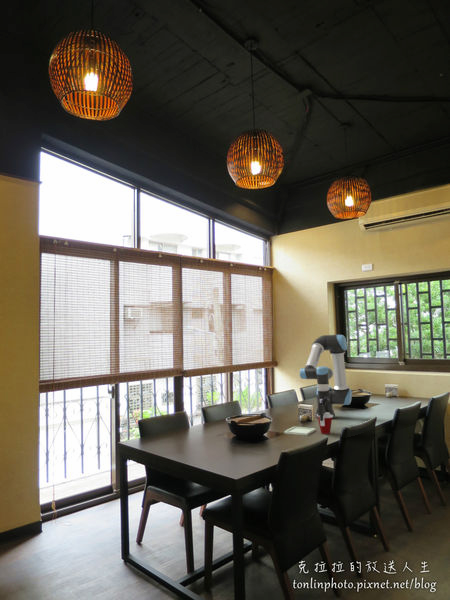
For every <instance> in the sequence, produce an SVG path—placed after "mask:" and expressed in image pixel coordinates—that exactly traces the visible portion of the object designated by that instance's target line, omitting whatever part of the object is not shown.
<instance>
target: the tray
mask: <svg viewBox="0 0 450 600" xmlns="http://www.w3.org/2000/svg"><path fill="white" fill-rule="evenodd" d="M315 431H317V430H316V428H315V427H304V426H292V427H290V428H287V429H286V430H284V431H283V432H284V433H283V434H286V435H296V436H297V435H298V436H306V437H307V436H309V435H310V434H312V433H314V432H315Z"/></svg>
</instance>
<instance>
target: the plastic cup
mask: <svg viewBox="0 0 450 600" xmlns="http://www.w3.org/2000/svg"><path fill="white" fill-rule="evenodd" d="M323 416H324V422H325V426H320V416H318V414H317V417H318V418H317V421H318V425H319V430H320V433H321V434H322V435H329V434H331V428H332V420H333V419H332V418H333V415H331V414H325V413H324V415H323Z"/></svg>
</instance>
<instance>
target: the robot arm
mask: <svg viewBox="0 0 450 600" xmlns="http://www.w3.org/2000/svg"><path fill="white" fill-rule="evenodd" d="M310 349H311V351H310V353H309V356H308V359H307V360H306V363H305V367H303V368H300V369H299V377H300V379H301V380H316V381H317V382H316V383H317V384H316V387H317V389H316V394H315V395H316V412H315V418H316V419H318V417H317V414H318V416H320V426H325V422H324V416H323V415H324V413H325V414H331V415H333V418H332V420H333V419H335V418H336V413H335V410H334V408H333V407H334V406H333V405H341V406H342V405H344V406H346V405H347V406H349V405H351V402H352V397H353V392H352V389H351V388H350V387H349V385H347V383H348V382H347V376H346V375H347V374H346V365H345V364H346V363H345V356H344V355H345V353H346V351H347V350H348V341H347V339H346V337H345V336H344V335H343V334H327V335H325V334H324V335H321V336H318V337H317V338H316V339H315V340H314V341H313V343H311V348H310ZM325 351H329V354H330V355H331V357H332V359H331V360H332V369H333V370H332V369H331V368H330V367H328V366H318V364H319V361H320V358H321V354H323V353H324V352H325ZM333 376H334V386H333V388H332V386H330V384H329V382H330V381H329V380H330V379H332V377H333ZM320 426H319V427H320Z"/></svg>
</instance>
